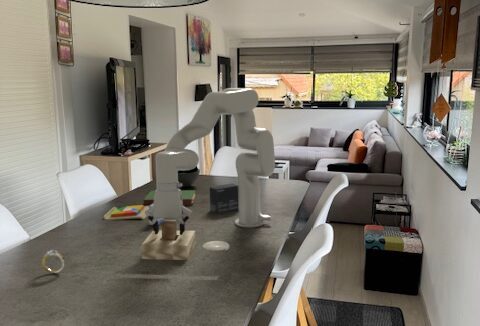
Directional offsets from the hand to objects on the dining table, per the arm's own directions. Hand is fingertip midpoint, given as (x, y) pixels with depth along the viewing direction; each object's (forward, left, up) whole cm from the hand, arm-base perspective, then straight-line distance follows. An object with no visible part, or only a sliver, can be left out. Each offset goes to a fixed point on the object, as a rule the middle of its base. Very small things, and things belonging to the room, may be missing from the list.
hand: (169, 233), depth 160 cm
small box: (-14, -57, -8) cm, 59 cm away
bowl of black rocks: (+16, -105, -8) cm, 106 cm away
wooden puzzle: (+31, -48, -8) cm, 58 cm away
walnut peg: (0, 0, -7) cm, 7 cm away
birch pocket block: (0, 0, -8) cm, 8 cm away
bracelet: (+34, +19, -8) cm, 40 cm away
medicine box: (+14, -36, -8) cm, 39 cm away
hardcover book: (+16, -73, -8) cm, 75 cm away
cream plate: (-16, -6, -8) cm, 19 cm away
